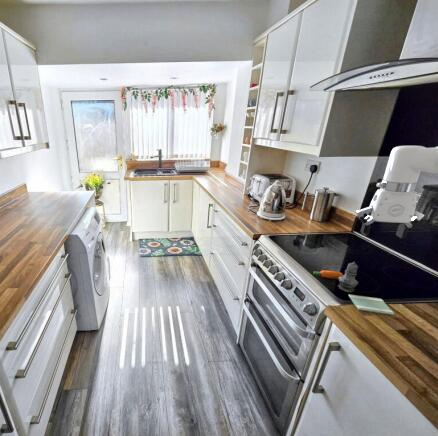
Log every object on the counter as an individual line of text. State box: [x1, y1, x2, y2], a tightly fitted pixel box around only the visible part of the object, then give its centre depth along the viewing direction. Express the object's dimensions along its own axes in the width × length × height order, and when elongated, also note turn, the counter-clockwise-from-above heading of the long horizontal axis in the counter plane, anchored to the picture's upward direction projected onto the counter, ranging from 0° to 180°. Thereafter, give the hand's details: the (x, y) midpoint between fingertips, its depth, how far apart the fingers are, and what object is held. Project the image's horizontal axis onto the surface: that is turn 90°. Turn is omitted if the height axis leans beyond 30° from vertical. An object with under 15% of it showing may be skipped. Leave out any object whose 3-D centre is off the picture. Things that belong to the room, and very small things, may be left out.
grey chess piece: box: [337, 261, 359, 293], centre depth 92 cm, size 6×6×12 cm
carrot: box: [312, 269, 345, 280], centre depth 100 cm, size 13×3×3 cm, turn 73°
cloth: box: [348, 293, 396, 316], centre depth 85 cm, size 8×10×1 cm
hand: (381, 235), depth 81 cm, fingers open, 9 cm apart
